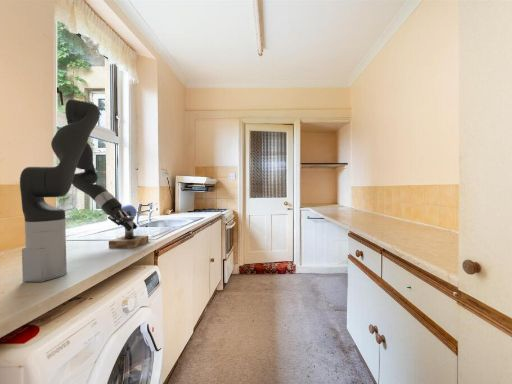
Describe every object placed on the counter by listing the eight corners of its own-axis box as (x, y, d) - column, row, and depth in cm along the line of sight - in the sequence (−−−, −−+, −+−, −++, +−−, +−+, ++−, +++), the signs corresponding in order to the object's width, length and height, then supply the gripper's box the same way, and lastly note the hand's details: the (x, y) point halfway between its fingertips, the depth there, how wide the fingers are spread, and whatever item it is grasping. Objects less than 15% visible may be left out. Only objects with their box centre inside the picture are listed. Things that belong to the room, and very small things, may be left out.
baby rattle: (119, 237, 128) (118, 204, 128) (137, 236, 132) (136, 203, 131) (117, 241, 120) (117, 205, 120) (136, 239, 124) (136, 204, 123)
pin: (131, 241, 110) (130, 217, 109) (121, 240, 110) (120, 217, 110) (137, 238, 114) (136, 215, 114) (127, 238, 115) (127, 215, 115)
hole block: (134, 247, 106) (134, 241, 106) (108, 247, 107) (108, 241, 107) (148, 241, 118) (148, 235, 118) (125, 241, 119) (125, 235, 119)
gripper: (102, 198, 105) (129, 225, 105) (122, 196, 119) (146, 221, 119) (91, 210, 106) (118, 237, 105) (113, 207, 120) (136, 231, 119)
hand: (133, 228), depth 112 cm, fingers closed on pin, 3 cm apart
